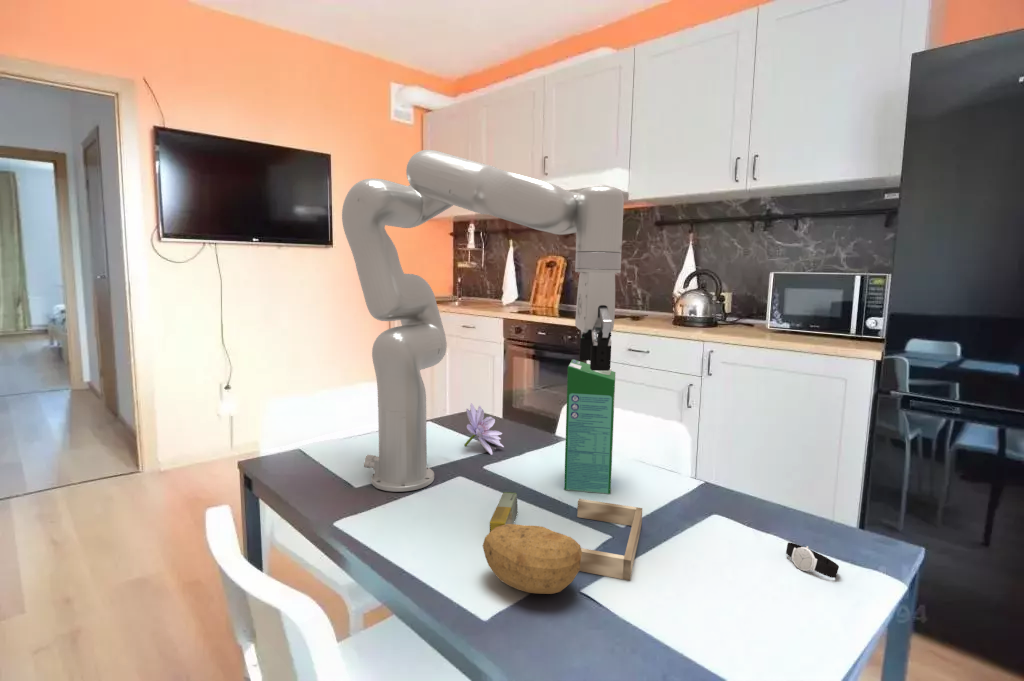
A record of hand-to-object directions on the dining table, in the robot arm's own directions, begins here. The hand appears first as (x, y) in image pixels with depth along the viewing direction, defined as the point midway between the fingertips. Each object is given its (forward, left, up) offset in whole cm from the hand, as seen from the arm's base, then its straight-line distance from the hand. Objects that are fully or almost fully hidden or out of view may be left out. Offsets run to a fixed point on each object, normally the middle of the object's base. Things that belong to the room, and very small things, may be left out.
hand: (593, 364), depth 92 cm
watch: (+34, -5, -28) cm, 44 cm away
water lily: (-31, +28, -28) cm, 50 cm away
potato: (-4, -24, -27) cm, 37 cm away
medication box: (-13, -9, -28) cm, 32 cm away
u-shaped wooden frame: (+3, -9, -27) cm, 29 cm away
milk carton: (-3, +15, -27) cm, 31 cm away
